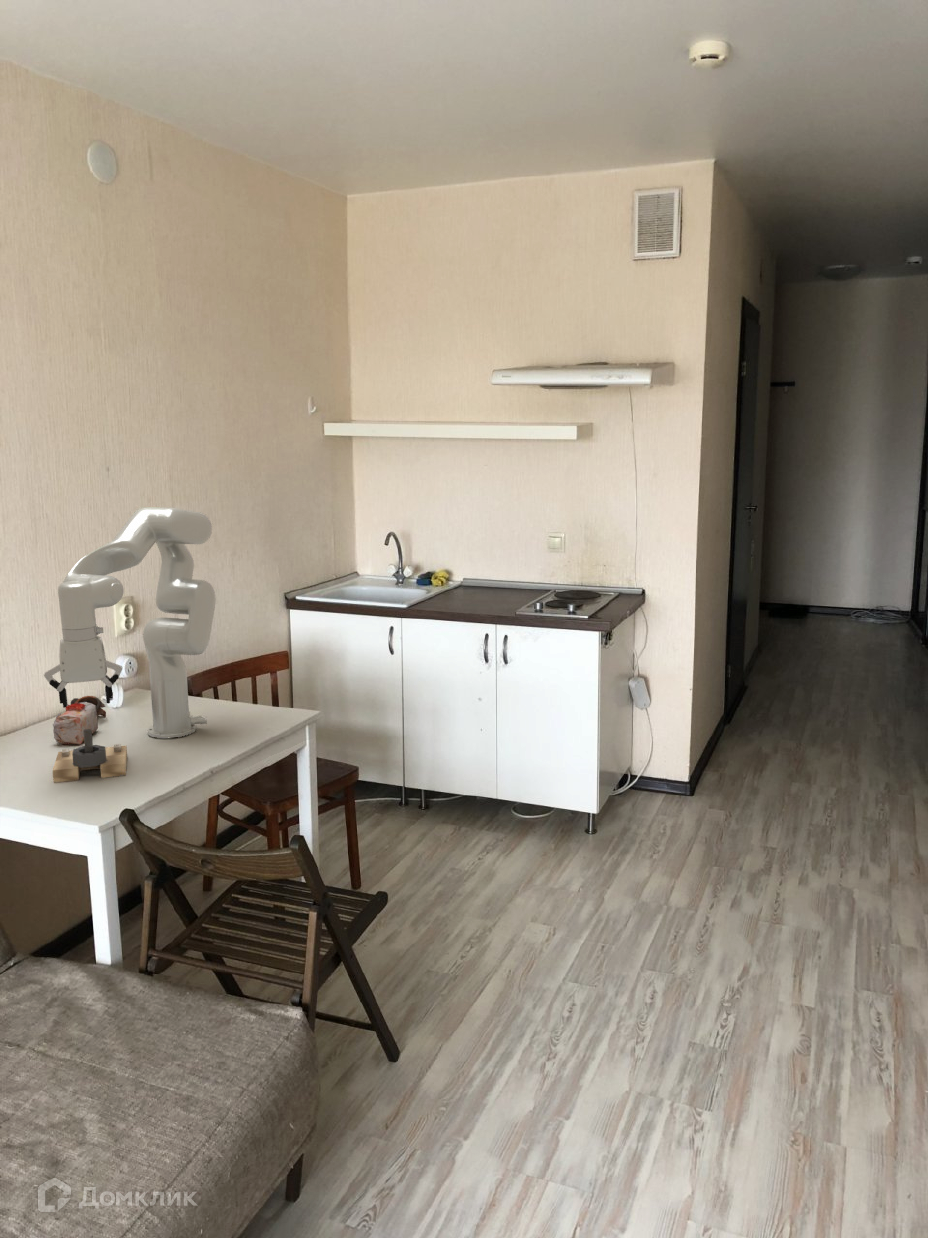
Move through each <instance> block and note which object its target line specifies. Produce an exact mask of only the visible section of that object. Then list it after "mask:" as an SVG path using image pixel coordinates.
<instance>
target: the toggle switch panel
mask: <svg viewBox="0 0 928 1238" xmlns="http://www.w3.org/2000/svg"><path fill="white" fill-rule="evenodd" d="M83 732H84V741H83V743H84V746H85V753H93V745H94V744H93V733H92V730H91V729H85V730H83ZM105 749H106V762H105V763H103V764H100V765H98V766H93V767H78V766H73V755H72V753H73V750H74V749H73V750H70V749H69V748H65V749H61V751H58V752H57V754H56V759H55V762H54V765H53V767H52V777H53V783H61V782H63V783H64V782H71V781H79V779H80V776H81V772H82V771H86V770H87V771H88V770H96V769H97V770H99V769H100V777H101V779H102V778H103V779H104V778H109V777H110V778H111V777H112V778H114V777H121V776H120V775H124V776H126V775H127V767H126V766H128V765H127V764H128V747H127V745H122V744H120V743H119V744H113V746H108V747H106V746H105ZM98 768H99V769H98ZM113 776H114V777H113Z"/></svg>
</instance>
